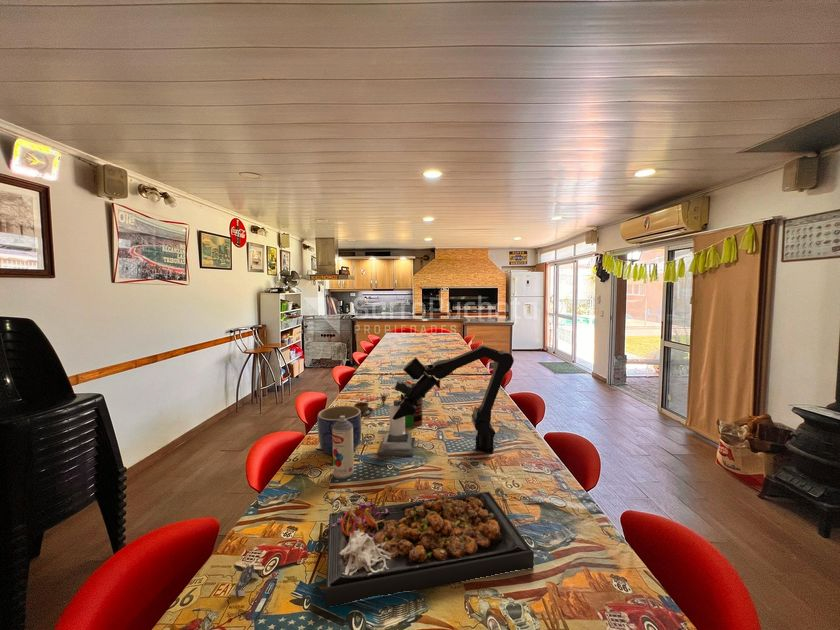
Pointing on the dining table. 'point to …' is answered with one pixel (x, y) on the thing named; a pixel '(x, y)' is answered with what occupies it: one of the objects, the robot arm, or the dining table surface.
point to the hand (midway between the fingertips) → (393, 416)
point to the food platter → (420, 546)
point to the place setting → (364, 407)
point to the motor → (417, 417)
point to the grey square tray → (397, 445)
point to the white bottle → (399, 424)
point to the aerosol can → (343, 449)
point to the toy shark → (244, 580)
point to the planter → (331, 417)
